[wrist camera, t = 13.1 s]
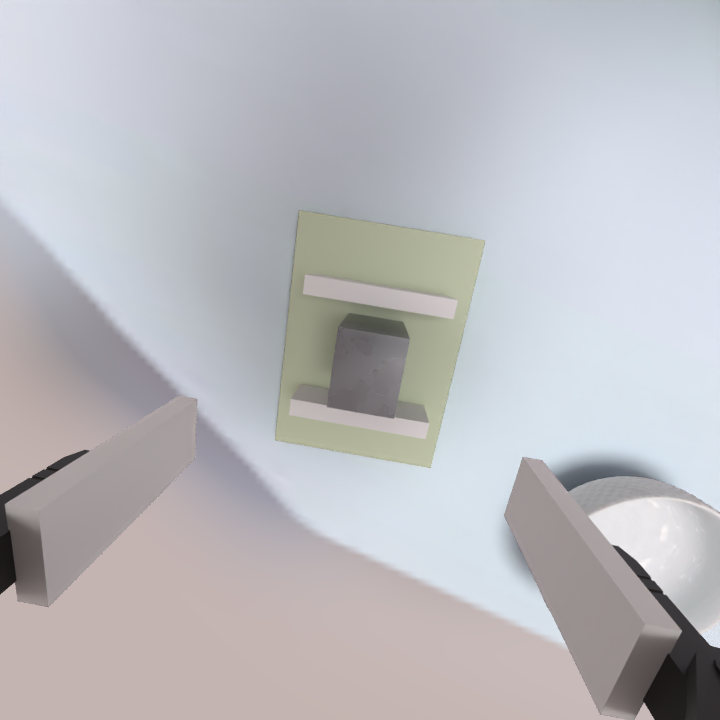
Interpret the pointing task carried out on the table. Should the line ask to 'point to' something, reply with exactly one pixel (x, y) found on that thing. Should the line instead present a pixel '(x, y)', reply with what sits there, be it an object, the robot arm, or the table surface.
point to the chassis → (383, 300)
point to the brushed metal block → (368, 365)
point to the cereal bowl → (662, 538)
